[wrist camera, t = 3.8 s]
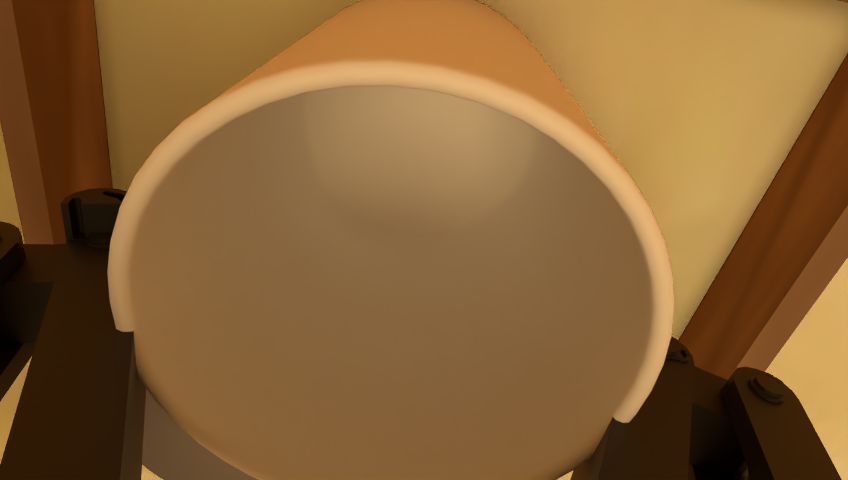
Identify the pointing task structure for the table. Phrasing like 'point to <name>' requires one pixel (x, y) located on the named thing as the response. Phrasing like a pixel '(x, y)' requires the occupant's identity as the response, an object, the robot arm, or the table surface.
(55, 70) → the frame
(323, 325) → the mug
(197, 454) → the dark brown round mat
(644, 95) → the table surface
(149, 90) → the table surface
